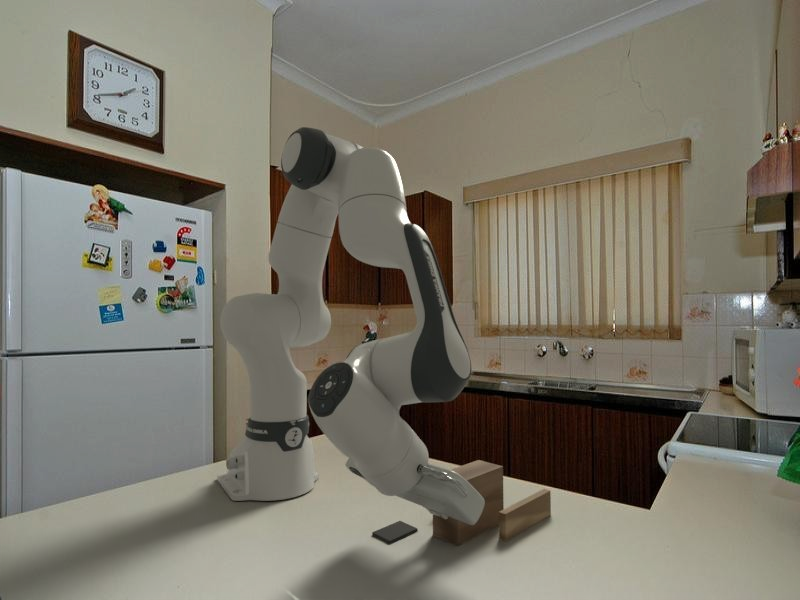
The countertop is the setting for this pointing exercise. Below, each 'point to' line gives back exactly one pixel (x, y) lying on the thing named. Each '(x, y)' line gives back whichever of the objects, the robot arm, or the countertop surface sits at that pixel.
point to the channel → (524, 514)
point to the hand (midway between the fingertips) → (441, 512)
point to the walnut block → (491, 489)
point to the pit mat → (394, 532)
